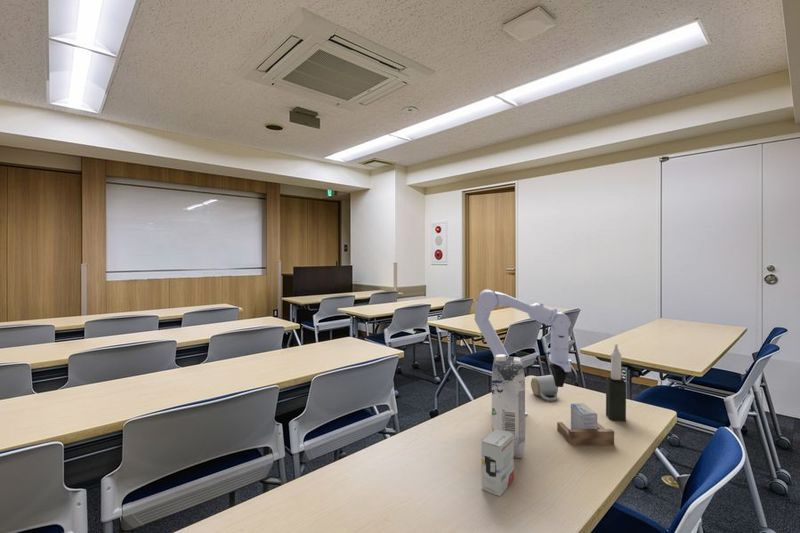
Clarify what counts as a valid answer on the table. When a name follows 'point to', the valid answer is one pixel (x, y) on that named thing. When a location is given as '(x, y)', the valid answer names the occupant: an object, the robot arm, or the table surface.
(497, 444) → the ink box
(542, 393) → the ceramic mug
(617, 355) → the candle
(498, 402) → the juice carton
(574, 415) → the medicine box
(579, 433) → the holder
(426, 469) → the table surface
